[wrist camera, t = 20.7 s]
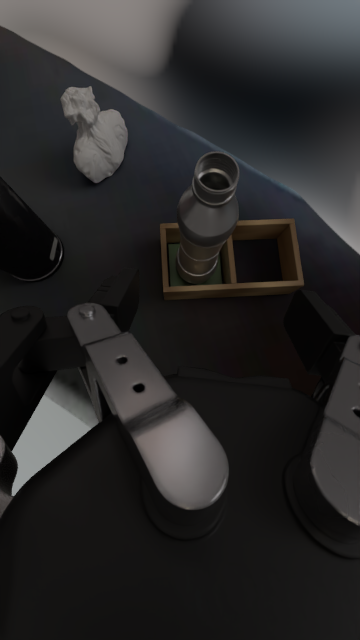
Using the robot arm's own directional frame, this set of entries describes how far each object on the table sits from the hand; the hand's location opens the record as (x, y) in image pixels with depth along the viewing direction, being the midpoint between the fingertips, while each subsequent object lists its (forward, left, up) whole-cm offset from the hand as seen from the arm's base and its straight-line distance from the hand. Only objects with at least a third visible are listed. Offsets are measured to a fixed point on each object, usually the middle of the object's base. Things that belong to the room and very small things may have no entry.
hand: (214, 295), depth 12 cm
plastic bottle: (0, +12, -25) cm, 27 cm away
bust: (-18, +30, -25) cm, 43 cm away
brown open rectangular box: (+5, +13, -25) cm, 28 cm away
